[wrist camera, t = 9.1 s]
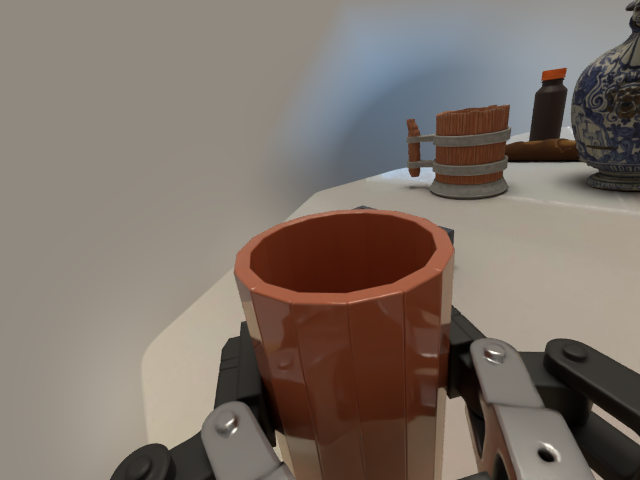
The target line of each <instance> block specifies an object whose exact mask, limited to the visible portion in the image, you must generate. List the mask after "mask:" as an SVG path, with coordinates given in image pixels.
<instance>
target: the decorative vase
mask: <svg viewBox="0 0 640 480" xmlns="http://www.w3.org/2000/svg"><path fill="white" fill-rule="evenodd" d="M626 11H634V12H633V16H632V17H631V19H630V23H629V25H630V27H631V29H632V34H631V35H630V37H629V38H628V39H627V40H626V41H625V42H624V43H623V44H621V45H619V46H617V47H615V48H613V49H611V50H609V51H607V52H606V53H604V54H603V55H601V56H600V57H598V58H597V59H596V60H594V61H593V62H592V63H590V65H588V66H587V68H586V69H585V70H584V71H583V73H582V74H581V76H580V77H579V79H578V81H577V83H576V86H575V89H574V93H573V98H572V105H571V122H572V129H573V134H574V137H575V141H576V148H577V150H578V156H579V160H580V161H584V162H586V163H587V165H588V166H592V167H594V168H597V169H599V172H598V173H595V174H593V175H591V176H589V177H588V178H587V181H586V182H587V184H588V185H590V186H592V187H596V188H601V189H607V190H618V191H640V0H635V1H633V2H632V3H630V4H629V5H628V6H627V7H626Z"/></svg>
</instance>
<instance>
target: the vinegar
mask: <svg viewBox="0 0 640 480" xmlns="http://www.w3.org/2000/svg"><path fill="white" fill-rule="evenodd" d="M566 69H567V68H563V69H555V70H549V71H543V73H542V80H543V81H542V83H543V84H542V87H541V88H540V89H539V90H538V91H537V92H536V94H535V102H534V108H533V116H532V123H531V131H530V139H529V142H530V141H544V140H547V139H559V138H560V132H561V126H562V120H563V115H564V108H565V102H566V96H567V88H566V87H565V86H564V85H563V80H564V77H565V74H566Z"/></svg>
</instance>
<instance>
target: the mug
mask: <svg viewBox="0 0 640 480" xmlns="http://www.w3.org/2000/svg"><path fill="white" fill-rule="evenodd" d="M509 109H510V105H503V106H497V105H492V106H489V107H483V108H467V109H463V110H458V111H446V112H442V113H440V114H437V115H436V133H435V134H433V135H420V131H419V130H418V126H417V125H416V123H415V119H408V120H407V126H408V130H409V134H408V137H407V143H408V147H409V151H408V154H409V161H408V162H407V163H408V164H407V168H409V173H410V175H411V177H418V176H419V174H420V167H433V172H435V173H436V176H435V179H434V181H433V183H432V185H431V186H430V190H431V191H432V192H433V193H435V194H436V195H439V196H442V197H447V198H456V199H476V198H485V197H491V196H495V195H498V194H500V193H502V192H503V191H505V190H506V189H507V188H508V185H507V183H506V181H505V179H504V177H503V170H505V169H506V168H507V162H508V156H506V155H505V148H506V140H508V139H510V134H511V127H508V118H509ZM430 141H433V145H436V159H434V160H424V161H423V160H420V142H430Z"/></svg>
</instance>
